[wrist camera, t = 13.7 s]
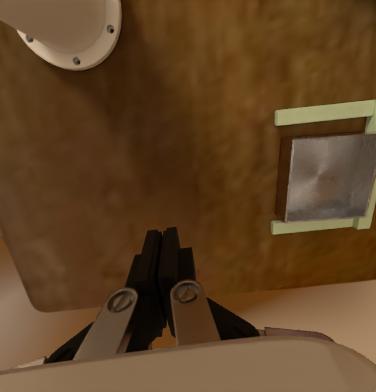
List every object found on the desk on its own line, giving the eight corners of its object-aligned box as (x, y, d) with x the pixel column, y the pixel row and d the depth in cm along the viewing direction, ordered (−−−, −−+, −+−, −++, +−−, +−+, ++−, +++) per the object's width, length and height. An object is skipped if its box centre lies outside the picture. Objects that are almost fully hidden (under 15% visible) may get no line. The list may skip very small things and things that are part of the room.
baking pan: (280, 137, 30) (292, 139, 27) (364, 131, 30) (386, 132, 27) (274, 213, 34) (284, 223, 31) (348, 208, 34) (366, 217, 31)
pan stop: (274, 110, 29) (281, 109, 27) (384, 98, 29) (398, 97, 27) (270, 231, 35) (275, 237, 33) (359, 222, 35) (369, 228, 33)
